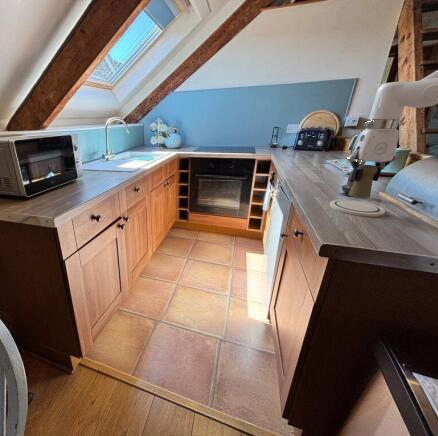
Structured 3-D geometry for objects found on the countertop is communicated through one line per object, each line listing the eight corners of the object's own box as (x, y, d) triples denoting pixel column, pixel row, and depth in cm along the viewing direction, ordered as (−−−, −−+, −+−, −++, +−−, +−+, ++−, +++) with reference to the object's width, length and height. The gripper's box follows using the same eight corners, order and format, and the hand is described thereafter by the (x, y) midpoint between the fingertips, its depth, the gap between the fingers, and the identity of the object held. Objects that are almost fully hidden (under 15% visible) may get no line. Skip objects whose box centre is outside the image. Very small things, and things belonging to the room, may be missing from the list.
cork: (349, 192, 92) (358, 162, 88) (370, 195, 88) (381, 164, 84) (347, 195, 88) (356, 165, 84) (368, 199, 84) (379, 167, 80)
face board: (350, 200, 100) (351, 197, 99) (396, 213, 86) (397, 210, 85) (319, 204, 96) (320, 201, 96) (361, 218, 82) (362, 215, 82)
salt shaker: (344, 196, 104) (352, 168, 100) (336, 192, 110) (344, 166, 105) (359, 197, 103) (368, 169, 99) (351, 193, 109) (359, 166, 104)
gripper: (361, 126, 76) (345, 182, 83) (421, 125, 75) (399, 182, 82) (346, 125, 83) (331, 177, 90) (400, 124, 82) (381, 177, 88)
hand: (364, 179), depth 86 cm, fingers closed on cork, 5 cm apart
